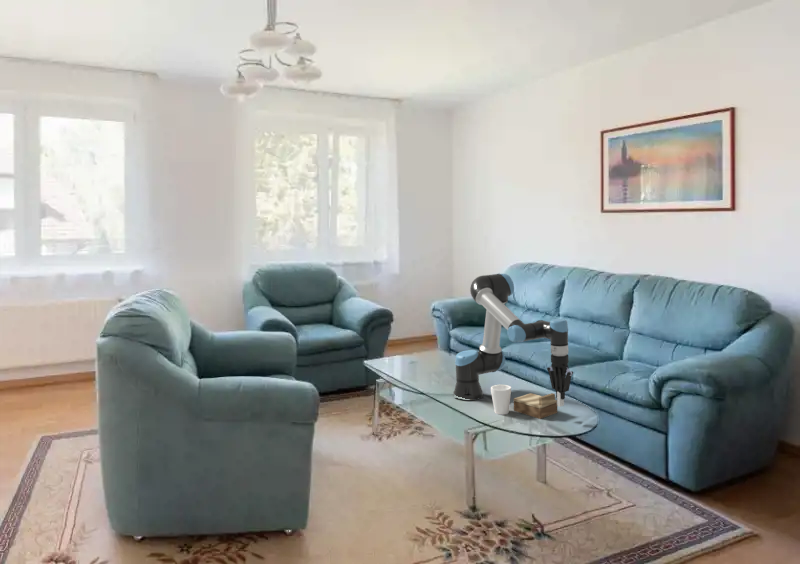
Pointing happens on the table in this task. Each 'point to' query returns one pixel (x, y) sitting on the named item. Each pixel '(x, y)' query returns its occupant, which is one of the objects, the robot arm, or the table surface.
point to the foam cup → (501, 398)
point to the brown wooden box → (535, 410)
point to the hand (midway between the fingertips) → (560, 405)
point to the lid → (537, 400)
